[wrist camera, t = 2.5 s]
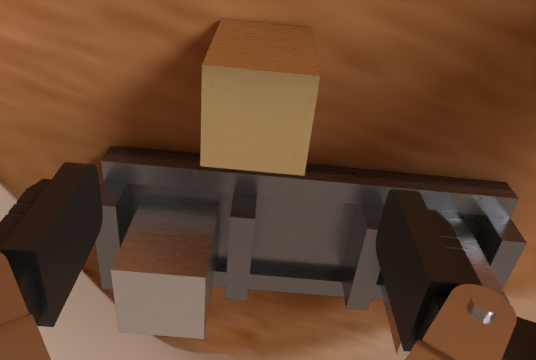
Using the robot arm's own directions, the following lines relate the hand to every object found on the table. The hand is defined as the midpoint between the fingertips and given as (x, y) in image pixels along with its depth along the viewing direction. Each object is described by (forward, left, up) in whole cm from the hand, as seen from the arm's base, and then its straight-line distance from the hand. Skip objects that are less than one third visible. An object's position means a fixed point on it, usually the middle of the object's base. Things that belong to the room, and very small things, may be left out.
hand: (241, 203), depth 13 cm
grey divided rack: (+9, +3, -11) cm, 14 cm away
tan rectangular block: (0, 0, -11) cm, 11 cm away
